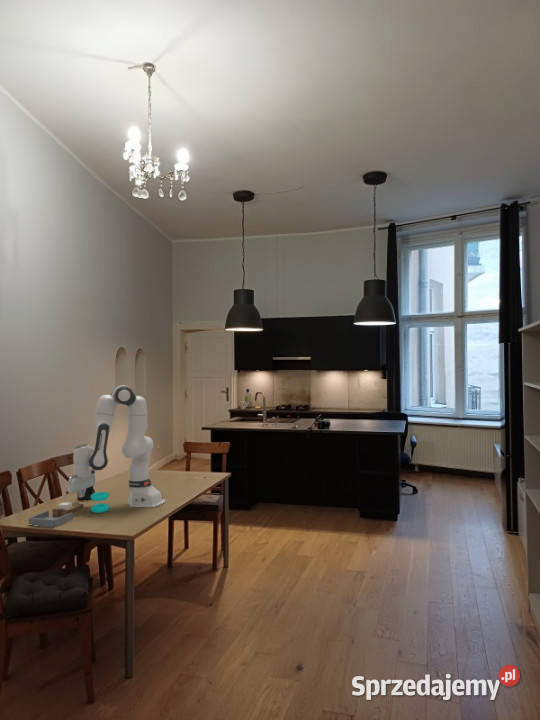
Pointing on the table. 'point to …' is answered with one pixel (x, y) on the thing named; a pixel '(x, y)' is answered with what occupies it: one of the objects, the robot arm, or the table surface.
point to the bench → (68, 511)
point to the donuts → (101, 507)
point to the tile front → (65, 505)
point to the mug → (87, 494)
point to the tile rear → (73, 502)
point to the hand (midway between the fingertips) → (81, 496)
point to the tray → (49, 520)
